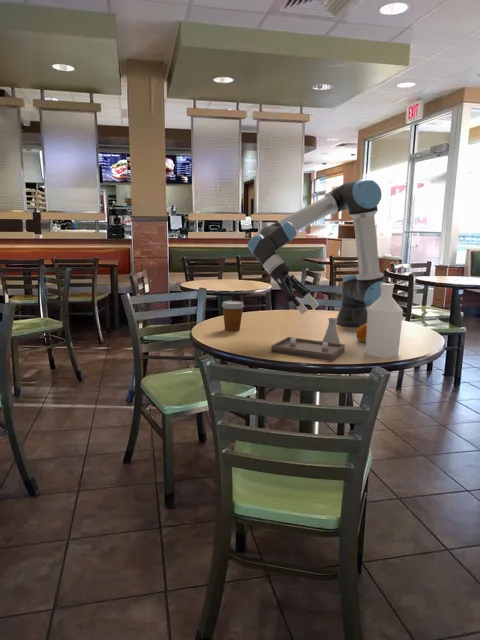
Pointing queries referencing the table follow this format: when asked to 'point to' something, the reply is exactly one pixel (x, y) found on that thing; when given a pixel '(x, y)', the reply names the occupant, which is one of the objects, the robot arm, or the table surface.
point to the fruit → (361, 333)
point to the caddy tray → (308, 348)
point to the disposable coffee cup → (232, 315)
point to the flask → (331, 332)
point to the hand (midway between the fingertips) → (310, 309)
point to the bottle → (384, 325)
